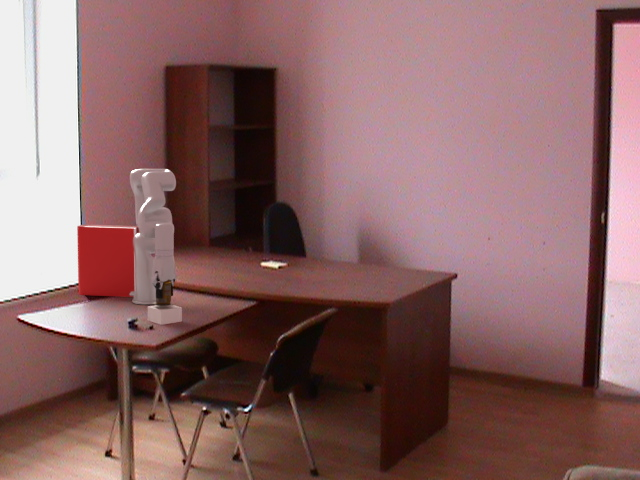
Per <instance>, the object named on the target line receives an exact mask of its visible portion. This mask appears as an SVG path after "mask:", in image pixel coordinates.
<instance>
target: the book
mask: <svg viewBox="0 0 640 480" xmlns="http://www.w3.org/2000/svg"><path fill="white" fill-rule="evenodd" d="M138 233H139V228H138V227H137V225H113V224H112V225H110V224H107V225H106V224H79V225H77V234H76V235H77V273H78V274H77V277H78V279H77V280H78V281H77V282H78V284H77V285H78V287H77V289H78V295H79V296H96V297H98V296H99V297H125V298H127V297H128V298H134V296H130V293H131V291H136V281H135V252H134V246H133V238H134V236H135V235H136V234H138Z"/></svg>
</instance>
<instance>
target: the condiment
mask: <svg viewBox="0 0 640 480" xmlns="http://www.w3.org/2000/svg"><path fill="white" fill-rule="evenodd" d="M159 281H160V280H159ZM158 284H159V285H160V283H158ZM162 289H163V299H158V298H156V302H153V304H152V305H154V306H155V305H157V306H173V305H175V303H173V302H172V296H171V282H170V280H169V279H168V280H167V281H166V282H163V285H162Z"/></svg>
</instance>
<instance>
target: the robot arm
mask: <svg viewBox="0 0 640 480" xmlns="http://www.w3.org/2000/svg"><path fill="white" fill-rule="evenodd" d="M129 183H130V184H129V185H130V187H131V190H132V193H133V195H134V206H135V207H134V211H135V223H136V226H137V227H138V228H139V233H138V234H136V235H135V236H134V238H133V246H134V252H135V281H136V291H131V293H130V296H134V297H133V298H132V299H131V300H132V301H131V303H133V304H136V305H154V304H153V302H156V298H158V299H163V289H162V285H163V282H166V281H167V280H168V279H169V280H170V282H171V297H173V296H174V286H175V282H176V279H177V278H178V275H177V274H176V263H175V256H174V254H175V253H174V249H175V247H174V245H175V243H174V241H175V239H174V238H175V236H174V235H175V234H174V233H175V226H174V224H173V216H172V215H173V214H172V213H171V212H172V211H171V210H170V209H169V208H168V207H164V206H165V204H166V196H165V192H173V191H175V189H176V186H177V180H176V176H175V173H173V171H171V170H170V169H168V168H138V169H134V170H132V171H131V172H130V174H129ZM152 254H154V256H152ZM159 280H160V281H159ZM158 283H160V285H159V284H158Z"/></svg>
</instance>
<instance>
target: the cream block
mask: <svg viewBox="0 0 640 480" xmlns="http://www.w3.org/2000/svg"><path fill="white" fill-rule="evenodd" d="M182 307H183V306H182ZM182 307H181V306H178V305H176V304H174V305H173V306H157V305H155V304H154V305H150V306H147V321H148V322H151V323H154V324H157V325H160V326H162V325H167V324H175V323H179V322H182V321H183V308H182Z"/></svg>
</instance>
